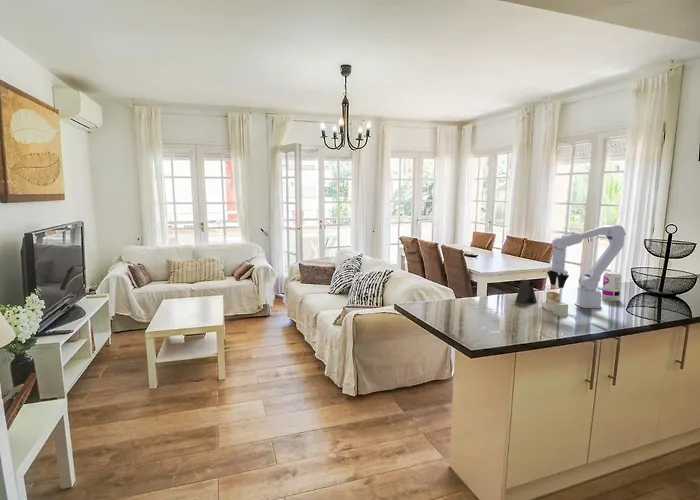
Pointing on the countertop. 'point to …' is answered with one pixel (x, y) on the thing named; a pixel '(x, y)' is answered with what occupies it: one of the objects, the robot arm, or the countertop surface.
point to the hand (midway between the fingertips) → (556, 286)
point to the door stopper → (526, 293)
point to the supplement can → (611, 286)
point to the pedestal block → (547, 306)
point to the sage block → (560, 309)
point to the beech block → (552, 297)
